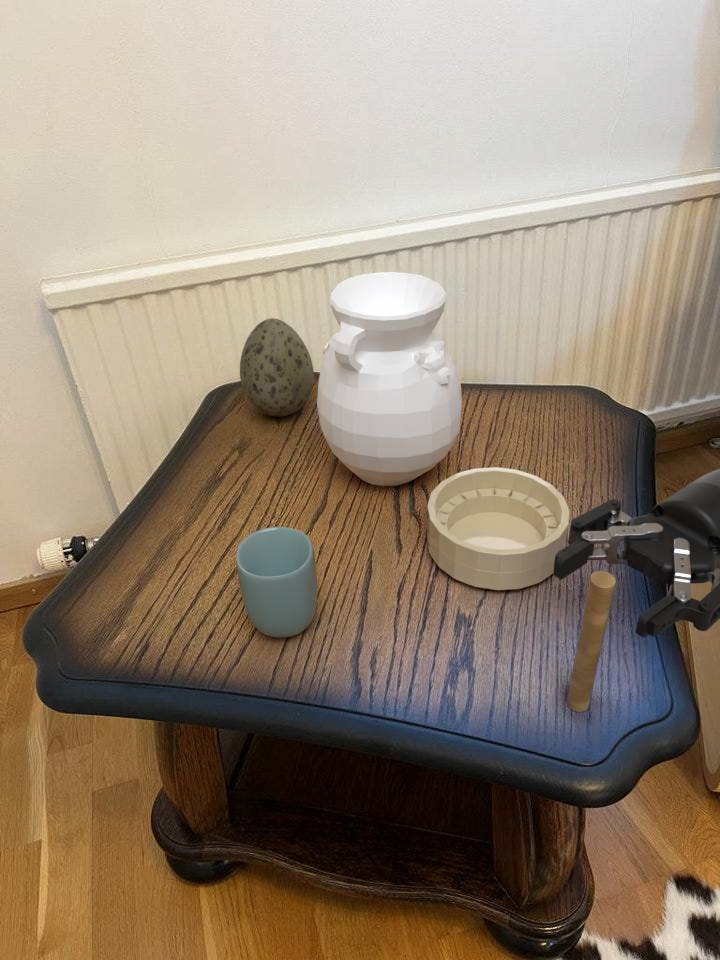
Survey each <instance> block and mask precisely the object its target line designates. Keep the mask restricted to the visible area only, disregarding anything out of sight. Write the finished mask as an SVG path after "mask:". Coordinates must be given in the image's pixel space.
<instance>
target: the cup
mask: <svg viewBox="0 0 720 960" xmlns="http://www.w3.org/2000/svg"><path fill="white" fill-rule="evenodd" d="M236 550H237V551H236V553H235V554H236V555H235V566H236V572H237V577H238V578H237V579H238V584H239V589H240V593H241V598H242V602H243V605H244V608H245V611H246V614H247V616H248V618H249V620H250V622H251V624H252V625H253V627H254V628H255V629H256V630H257V631H258V632H260V633H261V634H263V635H265V636H268V637H271V638H275V639H276V638H277V639H286V638H292V637H294V636H297V635H299V634H301V633H303V632H304V631H305V630H306V629H308V627H309V626H310V624H311V623H312V622H313V620H314V618H315V615H316V611H317V605H318V576H317V565H316V564H317V563H316V557H315V549H314V546H313V543H312V540H311V539H310V536H308V535H307V534H306V532H303V531H301V530H300V529H296V528H293V527H286V526H272V527H266V528H261V529H259V530H256V531H254V532H252V533H250V534H248V535H247V536H246V537H245V538H244V539H243V540H242V541H241V543H240V544H239V545H238V547H237V549H236Z"/></svg>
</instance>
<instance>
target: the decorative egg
mask: <svg viewBox="0 0 720 960" xmlns="http://www.w3.org/2000/svg"><path fill="white" fill-rule="evenodd" d="M241 351H242V352H241V356H240V361H239V379H240V384H241V387H242V390H243V393H244V395H245V396H246V398H247V400H248V402H250V403H251V405H252V406H253V407H254V408H255V409H257V410H258V411H259V412H261V413H262V414H265V415H268V416H271V417H279V418H280V417H287V416H289V415H293V414H294V413H296V412H298V411H299V410H300V409H301V408H302V407H304V405H305V404H306V403H307V401H308V400H309V398H310V396H311V394H312V390H313V386H314V383H315V381H314V380H315V373H314V372H315V371H314V365H313V361H312V358H311V354H310V352H309V350H308V348H307V346H306V344H305V342H304V340H303V339H302V338H301V336H300V335H299V334H298V332H296V330H295V329H294V328H293V327H292V326H291V325H289V324H288V323H287V322H285V321H283V320H281V319H279V318H273V317H271V318H266V319H264V320H262V321H260V322H259V323H258V324H257V325H256V326H255V327H254V328H253V329H252V330H251V332H250V333H249V335H248V337H247V338H246V341H245V343H244V345H243V348H242V350H241Z"/></svg>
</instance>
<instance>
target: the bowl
mask: <svg viewBox="0 0 720 960" xmlns="http://www.w3.org/2000/svg"><path fill="white" fill-rule="evenodd" d="M570 511H571V510H570V508H569V506H568V504H567V501H566V499H565V497H564V495H563V494H562V493H561V492H560V491H559V490H558V489H557V488H556V487H555V486H554V485H553V484H552V483H549V482H548V481H546V480H544V479H543V478H541V477H539V476H537V475H534V474H531V473H529V472H526V471H522V470H518V469H514V468H507V467H498V466H492V467H491V466H490V467H475V468H471V469H467V470H463V471H459V472H457V473H454V474H453V475H451V476H449V477H447V478H445V479H444V480H442V481H440V483H439V484H437V486H435V488H434V489H433V490H432V491H431V493H430V496H429V498H428V502H427V505H426V542H427V549H428V553H429V555H430V557H431V558H432V559H433V561H434V562H435V564H436V565H437V567H438V568H439V569H441V570H442V571H443V572H444V573H446V574H447V575H449V576H450V577H452V579H454V580H457V581H459V582H461V583H464V584H467V585H469V586H472V587H475V588H480V589H487V590H494V591H508V590H520V589H524V588H528V587H530V586H534V585H537V584H540V583H541V582H542V581H544V580H546V579H547V578H549V577H550V576H551V575H552V574H553V572H554V562H555V556H556V554H557V552H559V551H560V550H562V549H563V548H565V547H566V543H567V535H568V530H569V525H570V524H569V521H570ZM553 575H554V574H553Z"/></svg>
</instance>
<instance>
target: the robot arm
mask: <svg viewBox="0 0 720 960" xmlns="http://www.w3.org/2000/svg"><path fill="white" fill-rule="evenodd" d="M621 508H622V502H621V501H620V500H618V499H615V498H614V499H609V500H608V501H605V502H603V503H602V504H599V505H598V506H596V507H594V508H591V509H590V510H588V511H586V512H584V513H582V514H580V515H578V516H577V517H574V518H572V519H571V521H570V524H569V526H570V527H569V532H568V538H567V546H565V548H563V549H562V550H560V551H559V552H557V554H556V556H555V562H554V572H553V576H554V577H556V578H557V579H559V580H563V579H565V578H566V577H568V576H569V575H571V574H572V573H573V574H574V572H576V571H578V570H579V569H580V568H582V567H584V566H585V565H587V564H588V561H605V562H606V563H607V564H609V565H626V566H628V567H629V568H631V569H633V570H634V571H637V572H639V573H642V574H644V576H646V578H647V579H648V580H649V581H651V582H653V583H654V584H655V585H658V584H664V585H665V586H666V587H665V589H666V596H664V597H662V598H661V599H660V600H658V601H657V602H656V603H655V604H653V605H652V606H650V607H649V608H648V609H646V610H645V611H643V612H642V613H641V614H640V615H639V617H638V619H637V622H636V625H635V630H634V631H635V632H634V633H635V634H636V635H638V636H639V637H640V638H642V639H645V638H646V637H648V636H651V637H652V638H654V637H658V636H660V635H661V634H663V632H665V631H666V630H668V629H669V628H670V627H672V626H673V625H674V624H676V623H677V622H678V623H680V622H683V621H686V622H688V623H692V625H693V627H694V628H695V629H696V630H697V631H700V632H706V631H708V630H709V629H710V628H712V626H714V625H715V624H716V623H717V622H718V621H719V620H720V467H719V468H717V469H715V470H712V471H709V472H707V473H705V474H703V475H701V476H699V477H697V478H696V479H695V480H692V482H690V483H688V484H687V485H685V486H683V487H682V488H680V489H679V490H677V491H675V492H674V493H672V494H671V495H669V496H667V497H666V498H665V499H662V500H661V501H659V503H657V504H656V505H655V506H654V507H653V508H652V509H651V510H649V511H648V512H647V513H646V514H645V515H640V516H634V517H631V516H630V515H628V514H627V513H626V512H624V511H622V510H621ZM623 540H624V544H623V550H618V549H619V544H620V542H622V541H623ZM603 544H604V546H601V547H597V546H596V547H595V545H603ZM708 582H710V583H711V587H710V591H709V592H708V593H707V594H706V595H705V596H703V598H702V599H700V600H699V599H695V598H693V597H692V589H691V585H693V584H705V583H708Z"/></svg>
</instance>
